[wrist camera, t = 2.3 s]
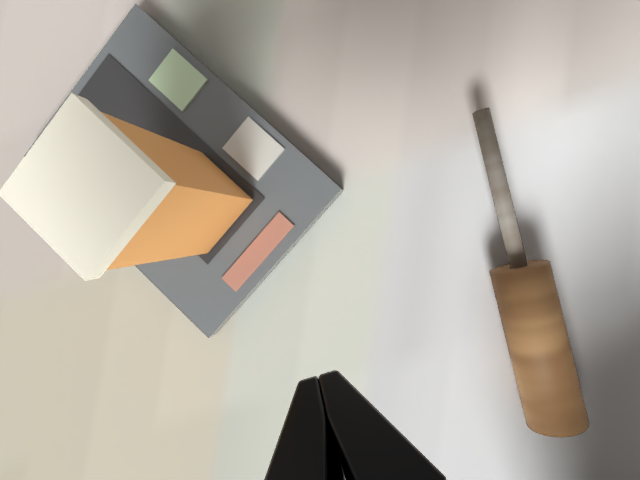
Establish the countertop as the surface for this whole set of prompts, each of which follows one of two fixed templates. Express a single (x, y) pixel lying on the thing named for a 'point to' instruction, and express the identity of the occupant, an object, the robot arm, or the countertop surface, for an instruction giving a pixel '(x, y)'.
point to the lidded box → (119, 193)
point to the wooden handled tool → (531, 315)
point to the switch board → (223, 150)
